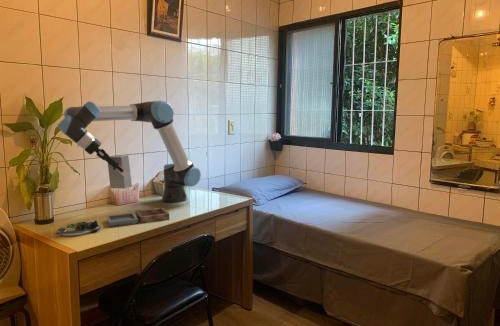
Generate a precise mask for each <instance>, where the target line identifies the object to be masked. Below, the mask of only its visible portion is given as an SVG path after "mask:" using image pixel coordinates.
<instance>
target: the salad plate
mask: <svg viewBox="0 0 500 326" xmlns="http://www.w3.org/2000/svg"><path fill="white" fill-rule="evenodd" d="M65 230H66V231H65ZM100 230H101V225H99V223H98V221H97V220H96V219H95V220H94V221H78V222H75V223H71V224H67V225H65V226H60V227H59V228H58V229H57V230H56V233H55V236H63V237H78V236H79V235H80V236H83V235H88V234H91V233H96V232H98V231H100ZM64 231H65V232H64Z"/></svg>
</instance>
